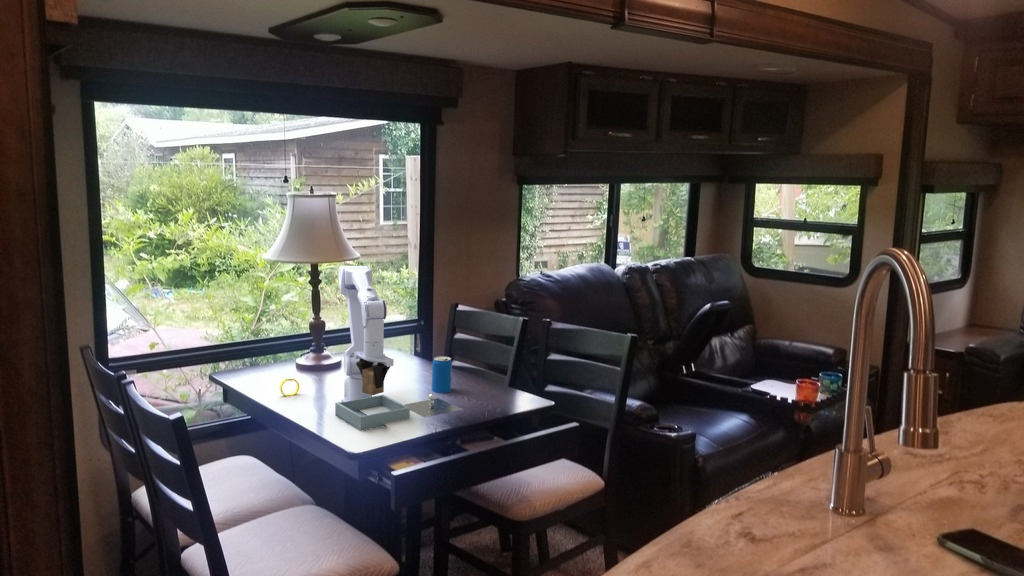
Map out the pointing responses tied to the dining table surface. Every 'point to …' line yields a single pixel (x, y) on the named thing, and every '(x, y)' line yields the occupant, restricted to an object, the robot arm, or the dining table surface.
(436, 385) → the beverage can
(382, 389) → the brown wooden block
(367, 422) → the bin
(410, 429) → the dining table surface
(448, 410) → the stud base
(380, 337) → the robot arm
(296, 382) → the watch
